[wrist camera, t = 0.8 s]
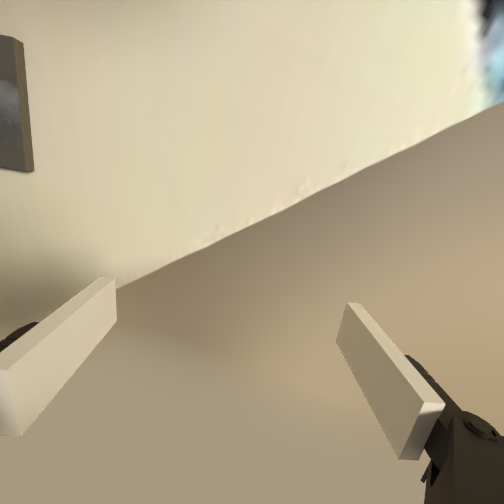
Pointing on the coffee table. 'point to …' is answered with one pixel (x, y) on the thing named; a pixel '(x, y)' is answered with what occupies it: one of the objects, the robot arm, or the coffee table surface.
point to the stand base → (14, 108)
